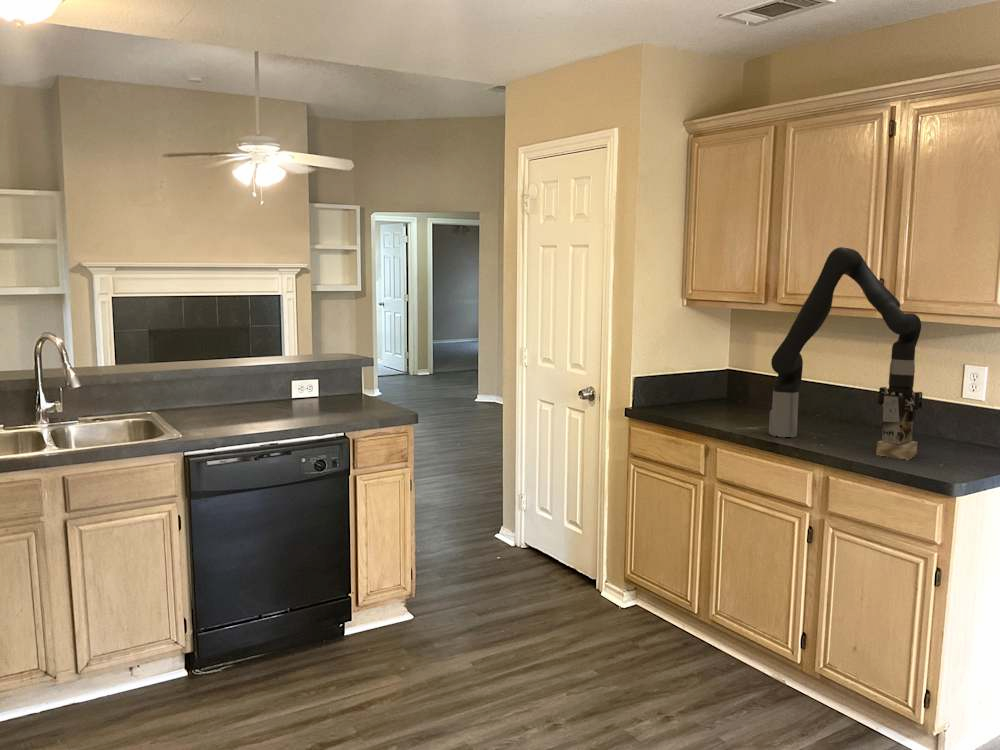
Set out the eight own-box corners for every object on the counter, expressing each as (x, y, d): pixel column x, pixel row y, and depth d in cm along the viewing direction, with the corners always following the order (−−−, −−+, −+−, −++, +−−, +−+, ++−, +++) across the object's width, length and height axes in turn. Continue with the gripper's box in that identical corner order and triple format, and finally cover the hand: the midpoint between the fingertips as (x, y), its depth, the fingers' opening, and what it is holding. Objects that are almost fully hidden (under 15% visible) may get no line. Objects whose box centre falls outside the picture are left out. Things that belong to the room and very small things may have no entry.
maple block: (876, 456, 268) (877, 442, 267) (885, 451, 275) (886, 437, 275) (907, 461, 261) (909, 446, 261) (916, 456, 269) (917, 442, 268)
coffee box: (900, 444, 262) (902, 397, 260) (881, 442, 267) (882, 395, 265) (913, 440, 268) (914, 394, 266) (893, 438, 273) (895, 392, 271)
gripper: (875, 371, 268) (872, 417, 271) (916, 375, 257) (912, 424, 259) (888, 369, 272) (885, 415, 275) (928, 374, 261) (925, 422, 263)
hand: (898, 419), depth 267 cm, fingers open, 8 cm apart
